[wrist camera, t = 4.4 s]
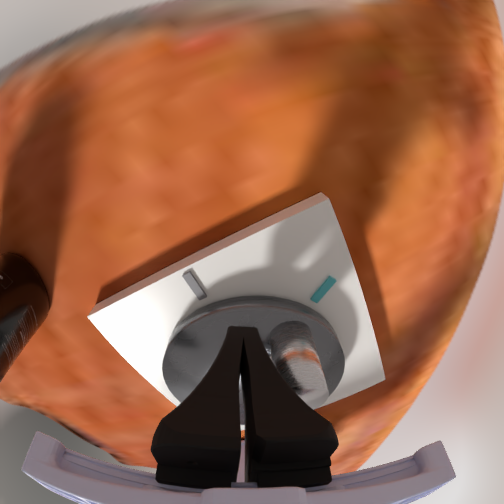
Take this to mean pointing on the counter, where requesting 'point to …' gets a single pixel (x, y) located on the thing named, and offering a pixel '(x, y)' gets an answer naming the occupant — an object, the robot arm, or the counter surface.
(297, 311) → the dial
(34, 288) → the supplement bottle
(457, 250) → the counter surface
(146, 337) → the dial plate
